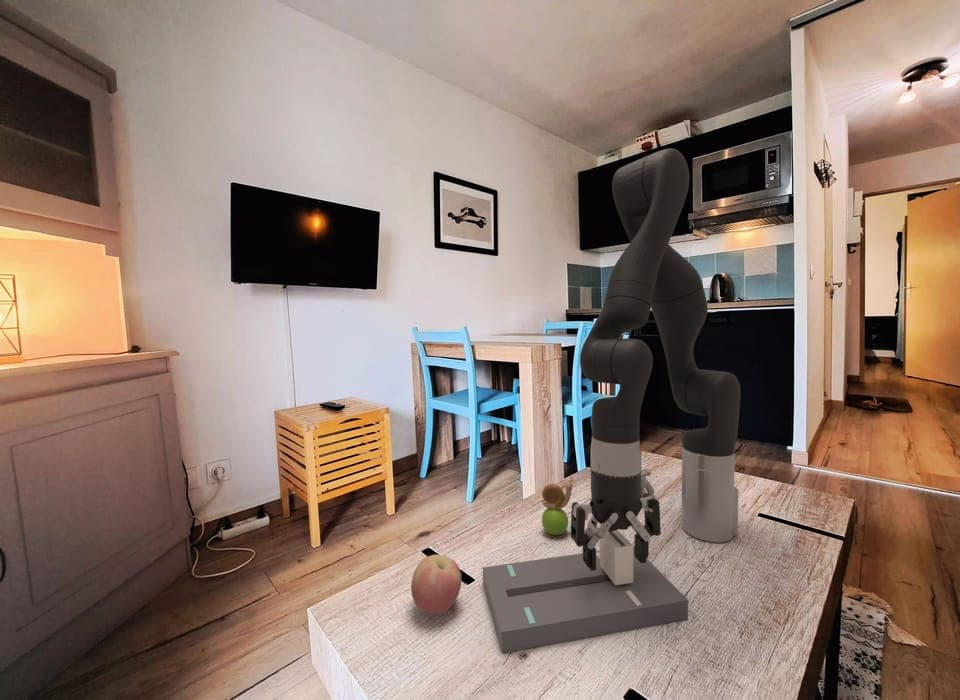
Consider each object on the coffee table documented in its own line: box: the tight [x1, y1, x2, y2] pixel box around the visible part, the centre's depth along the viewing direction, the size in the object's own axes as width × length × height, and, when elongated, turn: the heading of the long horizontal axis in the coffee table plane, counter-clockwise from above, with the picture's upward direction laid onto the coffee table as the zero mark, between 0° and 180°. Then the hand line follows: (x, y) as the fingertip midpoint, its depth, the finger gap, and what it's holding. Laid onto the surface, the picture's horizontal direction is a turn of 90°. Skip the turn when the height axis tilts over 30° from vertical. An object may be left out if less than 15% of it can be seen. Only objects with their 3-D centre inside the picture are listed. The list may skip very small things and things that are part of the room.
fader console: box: [482, 545, 689, 654], centre depth 61 cm, size 28×14×3 cm, turn 100°
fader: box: [599, 529, 634, 585], centre depth 62 cm, size 3×5×6 cm, turn 10°
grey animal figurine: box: [641, 468, 655, 497], centre depth 100 cm, size 9×12×8 cm
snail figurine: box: [541, 477, 574, 536], centre depth 80 cm, size 5×6×12 cm
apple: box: [410, 554, 462, 615], centre depth 60 cm, size 8×8×8 cm
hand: (615, 563), depth 62 cm, fingers open, 8 cm apart
